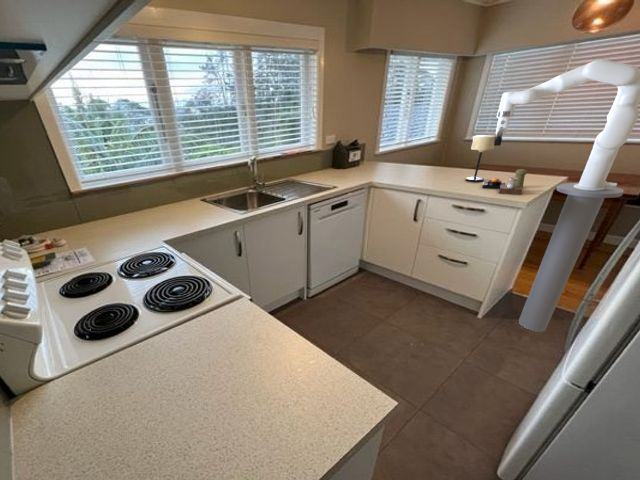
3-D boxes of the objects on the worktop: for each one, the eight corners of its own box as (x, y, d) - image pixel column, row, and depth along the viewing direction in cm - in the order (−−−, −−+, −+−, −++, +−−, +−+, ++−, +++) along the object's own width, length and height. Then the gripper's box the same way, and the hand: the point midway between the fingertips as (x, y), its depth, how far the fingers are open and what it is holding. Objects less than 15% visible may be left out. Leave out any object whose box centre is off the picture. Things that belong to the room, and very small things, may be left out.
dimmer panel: (520, 191, 176) (521, 185, 175) (520, 194, 170) (522, 189, 169) (499, 189, 182) (500, 184, 181) (498, 193, 176) (500, 188, 174)
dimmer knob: (515, 186, 175) (518, 177, 173) (515, 188, 172) (518, 178, 170) (506, 186, 177) (509, 176, 175) (506, 187, 174) (509, 178, 172)
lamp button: (498, 181, 187) (499, 178, 186) (498, 182, 184) (499, 179, 183) (491, 180, 189) (492, 177, 188) (491, 181, 186) (492, 179, 185)
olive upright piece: (510, 188, 183) (515, 170, 178) (510, 186, 187) (515, 168, 182) (522, 189, 179) (528, 170, 175) (522, 186, 184) (528, 168, 179)
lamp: (485, 179, 206) (496, 134, 193) (484, 183, 198) (496, 136, 185) (464, 178, 213) (474, 135, 200) (463, 182, 204) (473, 137, 192)
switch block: (504, 186, 188) (506, 179, 186) (504, 189, 182) (506, 183, 180) (483, 185, 194) (484, 178, 192) (482, 188, 188) (483, 181, 186)
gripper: (513, 115, 170) (504, 146, 178) (513, 113, 182) (505, 142, 190) (496, 115, 174) (489, 146, 182) (497, 114, 186) (490, 142, 194)
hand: (497, 144), depth 186 cm, fingers open, 9 cm apart
